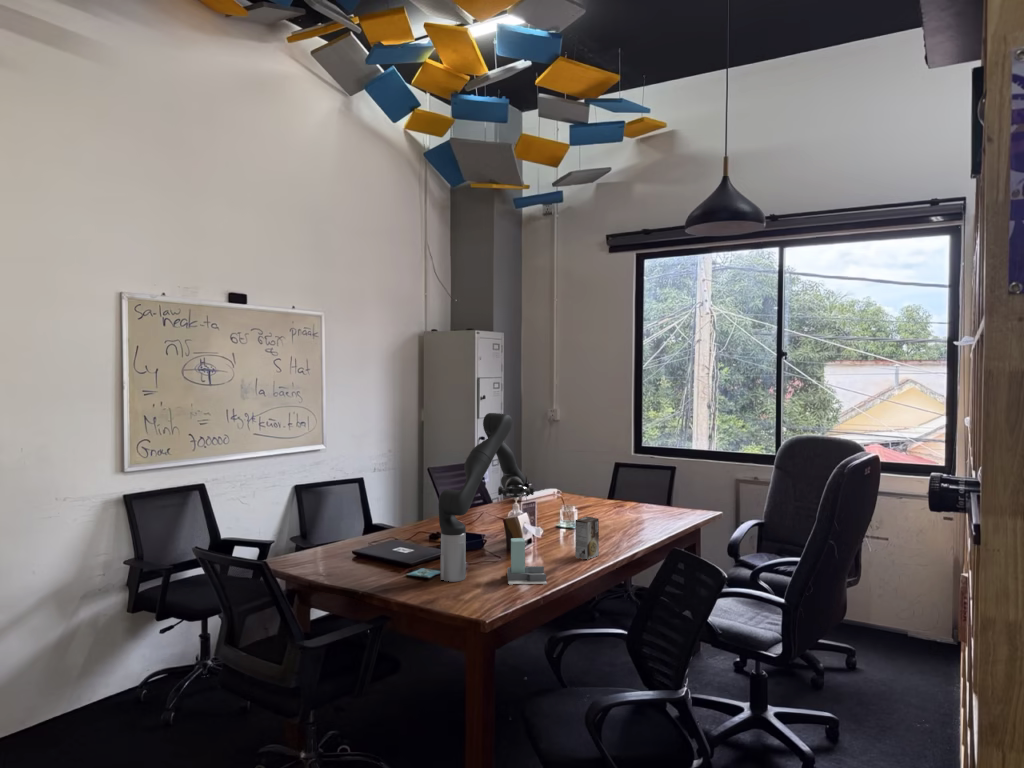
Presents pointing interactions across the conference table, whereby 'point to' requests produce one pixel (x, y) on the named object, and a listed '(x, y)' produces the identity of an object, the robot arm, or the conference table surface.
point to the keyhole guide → (527, 576)
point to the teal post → (517, 555)
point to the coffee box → (586, 537)
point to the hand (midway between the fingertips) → (516, 493)
